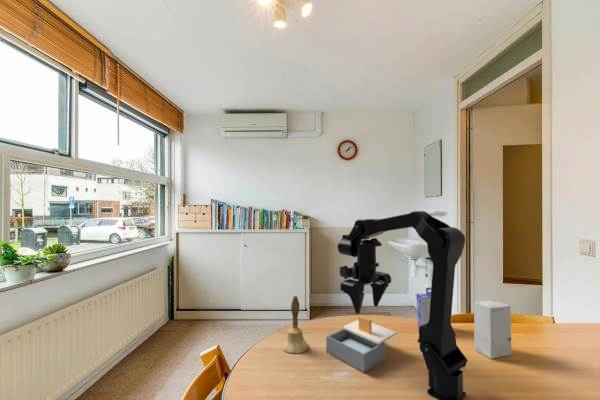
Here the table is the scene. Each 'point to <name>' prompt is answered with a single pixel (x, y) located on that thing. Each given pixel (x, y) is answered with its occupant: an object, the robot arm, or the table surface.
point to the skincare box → (492, 328)
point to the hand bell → (295, 333)
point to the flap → (369, 330)
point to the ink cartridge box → (423, 307)
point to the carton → (355, 350)
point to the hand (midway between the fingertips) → (366, 309)
